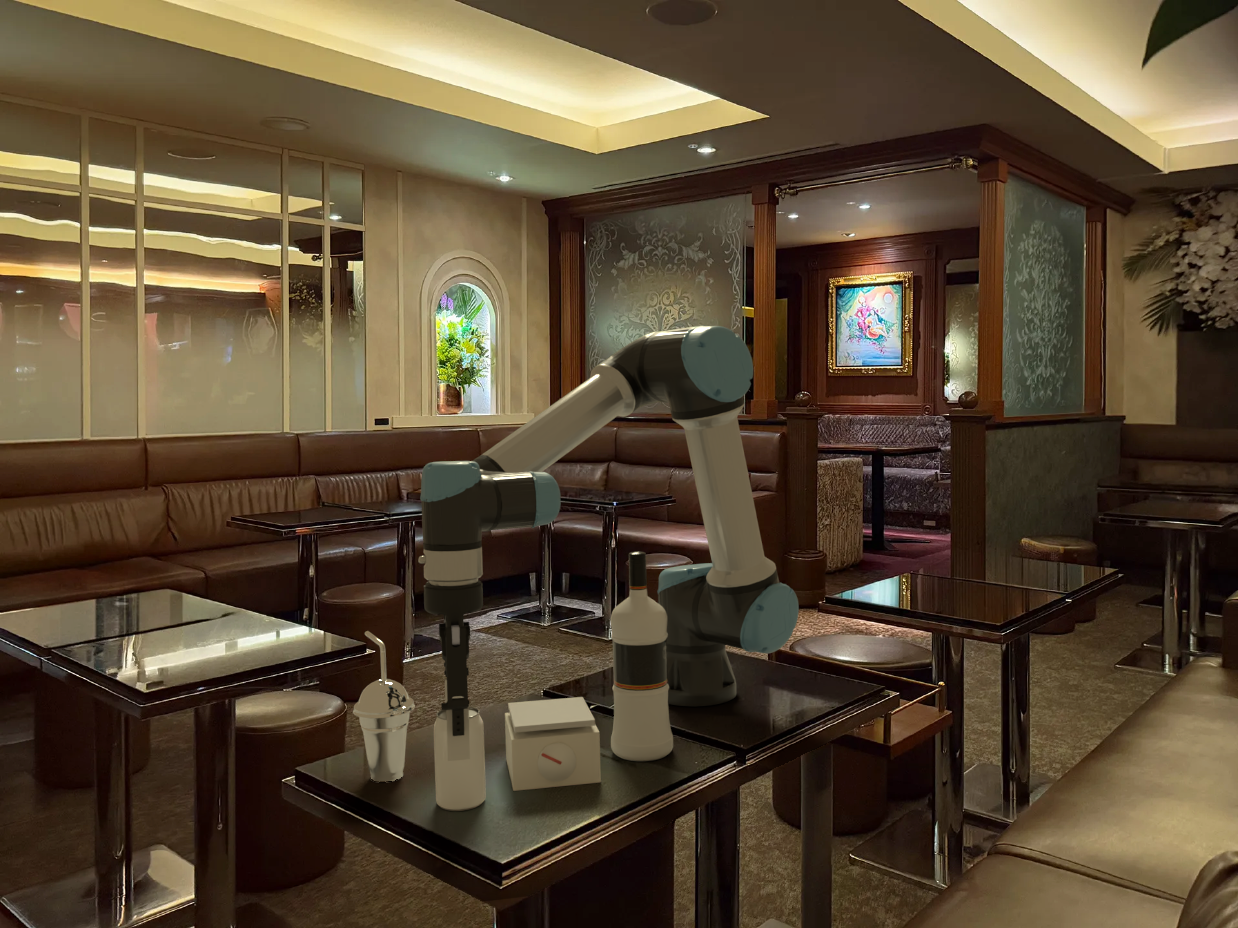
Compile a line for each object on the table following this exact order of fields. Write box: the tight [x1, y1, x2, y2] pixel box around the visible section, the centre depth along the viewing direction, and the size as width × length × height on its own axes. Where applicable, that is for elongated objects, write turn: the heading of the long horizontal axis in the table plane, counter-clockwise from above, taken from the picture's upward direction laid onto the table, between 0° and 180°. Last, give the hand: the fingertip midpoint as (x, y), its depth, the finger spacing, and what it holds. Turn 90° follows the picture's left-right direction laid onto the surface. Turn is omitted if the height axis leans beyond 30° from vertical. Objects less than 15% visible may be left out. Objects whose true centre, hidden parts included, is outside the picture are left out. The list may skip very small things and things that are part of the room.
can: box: [433, 705, 487, 812], centre depth 129 cm, size 6×6×12 cm
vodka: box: [610, 550, 674, 763], centre depth 145 cm, size 9×9×30 cm
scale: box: [504, 696, 602, 792], centre depth 139 cm, size 12×13×9 cm
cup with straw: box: [352, 630, 416, 783], centre depth 139 cm, size 8×9×20 cm
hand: (457, 741), depth 129 cm, fingers open, 13 cm apart
